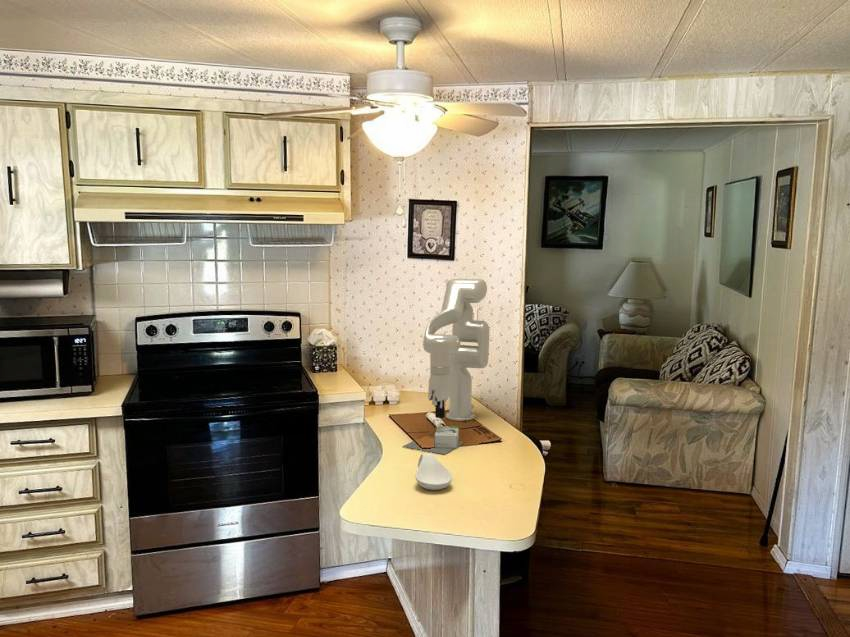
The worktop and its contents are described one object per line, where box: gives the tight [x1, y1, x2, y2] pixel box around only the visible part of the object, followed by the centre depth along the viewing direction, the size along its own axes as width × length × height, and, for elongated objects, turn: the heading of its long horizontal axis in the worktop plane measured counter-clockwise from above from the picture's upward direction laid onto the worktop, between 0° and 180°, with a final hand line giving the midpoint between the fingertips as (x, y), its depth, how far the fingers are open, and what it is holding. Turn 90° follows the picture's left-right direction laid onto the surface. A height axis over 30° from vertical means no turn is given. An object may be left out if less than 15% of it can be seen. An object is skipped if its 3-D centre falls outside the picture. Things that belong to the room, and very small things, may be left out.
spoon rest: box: [415, 452, 453, 491], centre depth 224 cm, size 24×12×7 cm, turn 11°
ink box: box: [434, 425, 460, 449], centre depth 261 cm, size 9×5×12 cm
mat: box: [402, 435, 466, 456], centre depth 260 cm, size 16×18×1 cm
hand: (440, 417), depth 263 cm, fingers closed
